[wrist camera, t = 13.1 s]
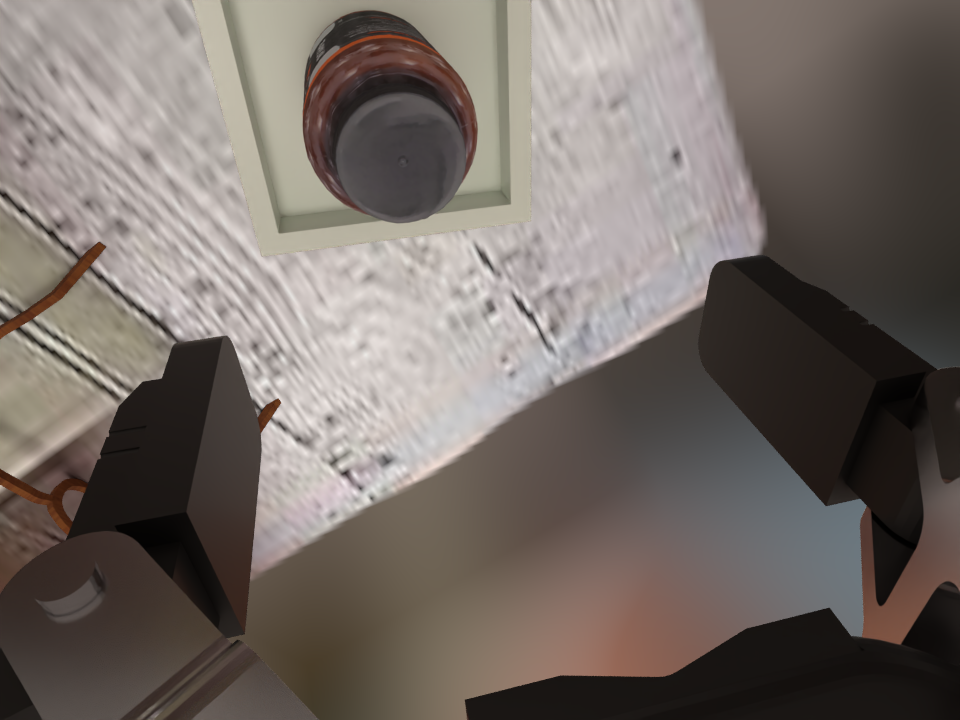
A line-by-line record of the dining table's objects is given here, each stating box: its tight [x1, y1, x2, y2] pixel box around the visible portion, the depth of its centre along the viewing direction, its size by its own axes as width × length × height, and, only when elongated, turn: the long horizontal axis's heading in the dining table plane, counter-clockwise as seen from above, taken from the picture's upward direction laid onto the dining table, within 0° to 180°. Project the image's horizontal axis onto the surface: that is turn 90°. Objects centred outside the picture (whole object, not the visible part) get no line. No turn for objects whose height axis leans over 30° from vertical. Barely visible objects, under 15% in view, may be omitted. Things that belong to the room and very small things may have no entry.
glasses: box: [0, 242, 281, 535], centre depth 33 cm, size 13×13×5 cm
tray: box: [192, 0, 531, 257], centre depth 27 cm, size 13×13×3 cm
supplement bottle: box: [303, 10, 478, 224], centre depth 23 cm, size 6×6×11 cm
